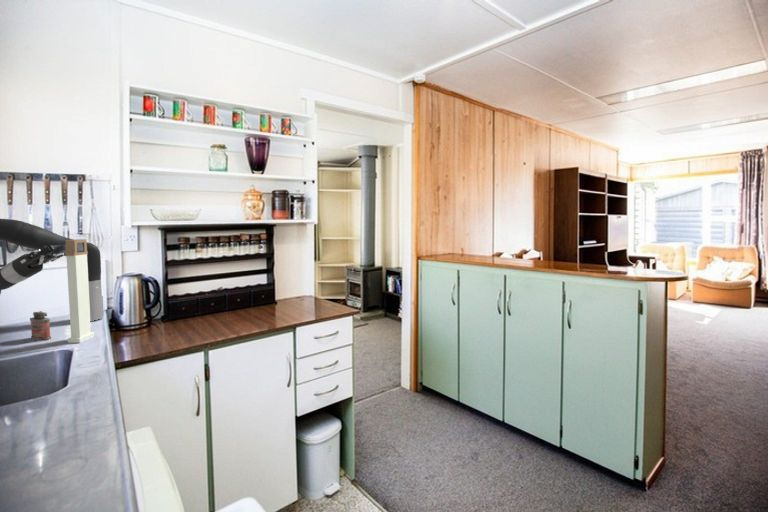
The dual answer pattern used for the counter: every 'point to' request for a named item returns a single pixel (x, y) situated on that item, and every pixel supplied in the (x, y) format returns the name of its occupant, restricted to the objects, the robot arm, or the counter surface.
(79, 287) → the stand
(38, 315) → the lighter
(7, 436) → the counter surface
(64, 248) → the steel bar
